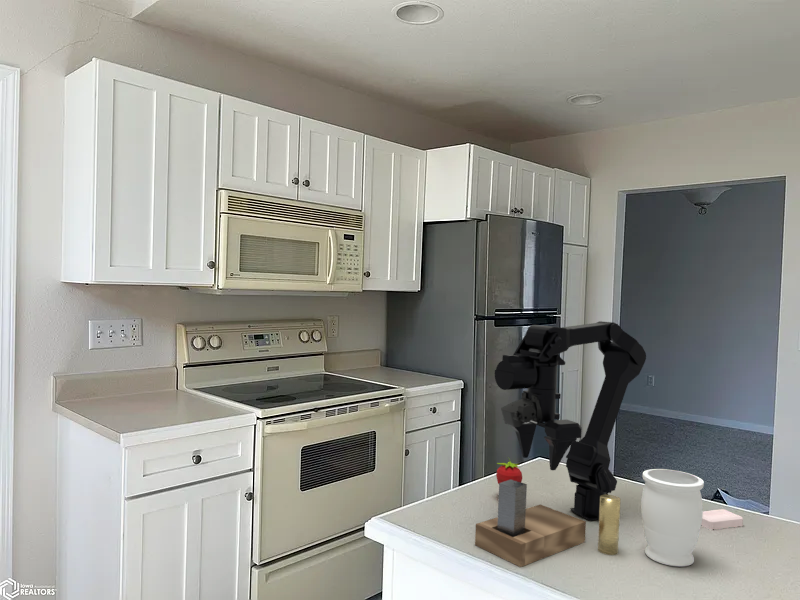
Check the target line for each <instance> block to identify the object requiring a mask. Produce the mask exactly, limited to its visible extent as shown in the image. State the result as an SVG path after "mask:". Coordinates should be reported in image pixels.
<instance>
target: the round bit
mask: <svg viewBox="0 0 800 600" xmlns="http://www.w3.org/2000/svg"><path fill="white" fill-rule="evenodd" d="M620 516H621V498H620V497H618V496H617V495H613V494H608V495H601V496H600V510H599V519H598V537H597V551H598V552H599V553H601V554H604V555H607V556H608V555H609V556H616V555H618V553H619V539H620V537H619V536H620V519H621V518H620Z"/></svg>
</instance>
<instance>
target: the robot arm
mask: <svg viewBox="0 0 800 600" xmlns="http://www.w3.org/2000/svg"><path fill="white" fill-rule="evenodd" d="M527 327H528V328H527V330H526V332H525V334H524V336H523V338H522V339H521V341H520V343H519V344H518V345H517V346H518V347H516V349H515V351H514V353H513V355H512V354H502V358H501V359H502V360H501V361H499V362H498V363H497V366H496V368H495V369H494V379H495V383H496V385H497V386H498V388H500V389H501V390H503V391H508V390H521V389H522V392H521V399H518V400H515V401H512V402H510V403H508V404H506V405H504V406H502V407H501V408H500V411H501V415H502V418H503V419H502V420H503V422H504V424H506V425H508V426H509V427H511V429H513V431H515V435H516V437H517V440H518V441H517V442H518V444H519V449H520V451H521V456H522V458H524V459H528V458H529V456H530V452H531V448H532V445H533V441H534V437H535V433H536V428H537V426H538V427H541V428H544V433H545V435H546V436H543V439H544V440H545V441H546V442H547V443H548V454H549V458H548V459H549V461H548V463H549V469H550V471H556V470H557V468H558V466H559V464H560V463H561V462H562V459H563V457H564V456H565V454H566V452H567V451H568V450H569V451H568V453H567V454H566V456H565V458H566V463H565V467H566V469H567V472H568V477H569V481H570V482H571V483H574V484H576V485H575V486H576V487H575V492H574V497H573V498H574V500H573V501H574V503H573V507H571V508H570V511H571V513H574V514H576V515H578V516H580V517H582V518H584V519H585V520H588V521H597V520H598V521H599V510H600V496H601V495H609V494H611V493H612V492H613V491H616V487H617V485H618V480H617V478H616V477H615V476H614V475H613V473H612V472H611V470H609V467H610V463H611V457H610V452H609V446H608V445H609V441H610V439H611V436H612V432H613V429H614V427H615V424H616V420H617V418H618V415H619V412H620V409H621V406H622V403H623V400H624V396H625V394H626V391H627V389H628V385H630V383H631V382H632V381H633V380H634V379H636V378H637V377H638V376H639V375H640V373H641V372H642V369H643V367H644V365H645V363H646V359H647V353H646V351H645V348H644V347H643V346H642V344H640V343H639V342H638V340H637V339H636V338H634V337H633V336H631V334H629V333H628V332H625V331H624V330H623V328H622V327H621V326H620V325H619V324H618V323H616V322H613V321H602V320H600V321H597V322H593V323H586V324H579V325H578V324H577V325H570V326H564V327H560V326H549V325H548V326H547V325H542V324H541V325H539V324H532V325H529V326H527ZM594 343H597V348H598V350H599V351H600V352H601V353H602V355H603V359H602V367H603V372H604V379H603V382H602V386H601V389H600V390H599V393H598V397H597V399H596V402H595V405H594V408H593V411H592V415H591V417H590V420H589V423H588V425H587V428H586V431H585V434H584V436H583V437H582V432H583V431H582V430H583V429H582V426H581V425H580V423H579V422H575V421H574V420H570V419H560V416H561V415H560V413H558V412H556V407H557V400H561V395H562V394H561V393H559V392H557V385H558V384H557V382H558V381H557V380H558V366H565V365H566V361H565V360H564V359H563V358H562V357H561V356H560V354H562V353H565V352H566V351H568V350H569V348H571V347H573V346H581V345H586V344H594ZM525 389H527V390H525ZM578 439H580V440H579V441H577V440H578Z"/></svg>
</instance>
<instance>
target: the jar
mask: <svg viewBox="0 0 800 600" xmlns="http://www.w3.org/2000/svg"><path fill="white" fill-rule="evenodd" d="M642 479H643V481H644V482H645V483H644V485H643V489H642V494H641V500H640V513H641V521H642V530H643V536H644V538H645V539H644V540H645V541H646V543H647V545H646V547H645V548H644V553H645V555H646V556H647V557H648V558H649V559H650V560H653V561H654V562H656V563H660V564H662V565H666V566H670V567H689V566H690V565H692V564H694V563H695V558H694V555H693V551H694V550H695V548H696V546H697V544H698V541H699V535H700V531H701V527H702V526H701V523H702V516H703V511H704V510H703V509H704V508H703V507H704V506H703V498H702V493H701V490H702V489H703V488H704V487H705V484H704V480H703V479H702V478H700V477H698V476H697V475H694V474H691V473H689V472H684V471H680V470H676V469H675V470H673V469H666V468H654V469H652V468H651V469H650V468H649V469H646V470H644V471H643V472H642Z"/></svg>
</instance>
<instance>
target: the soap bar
mask: <svg viewBox="0 0 800 600" xmlns="http://www.w3.org/2000/svg"><path fill="white" fill-rule="evenodd" d="M743 522H744V518H743V516H741V515H739V514H737V513H734V512H731V511H729V510H727V509H725V508H720V509H712V510H703V516H702V523H701V525H702V526H701V527H703V526H704V527H703V528H705V527H706V528H705V529H707V528H709V529H712V530H711V531H714V530H713V529H719V530H722V529H721V528H727V529H729V528H728V527H735V528H738V527H737V526H744V525H743V524H744V523H743ZM709 529H708V530H709Z"/></svg>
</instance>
